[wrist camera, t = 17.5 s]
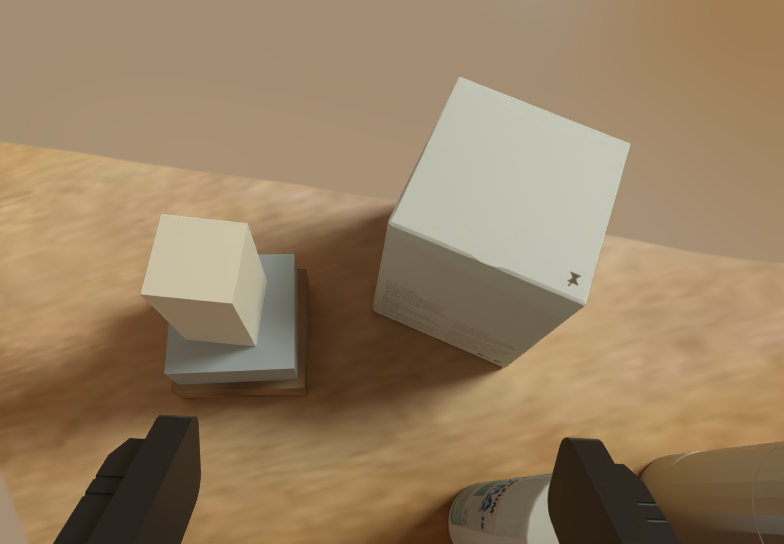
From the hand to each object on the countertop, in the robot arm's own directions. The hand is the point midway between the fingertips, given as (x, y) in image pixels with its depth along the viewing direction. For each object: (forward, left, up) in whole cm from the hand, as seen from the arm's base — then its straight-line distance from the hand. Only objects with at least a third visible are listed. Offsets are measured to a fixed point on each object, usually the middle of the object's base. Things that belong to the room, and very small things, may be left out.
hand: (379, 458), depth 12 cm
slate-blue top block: (+8, -12, -31) cm, 35 cm away
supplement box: (-11, -18, -35) cm, 41 cm away
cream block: (+9, -12, -27) cm, 31 cm away
